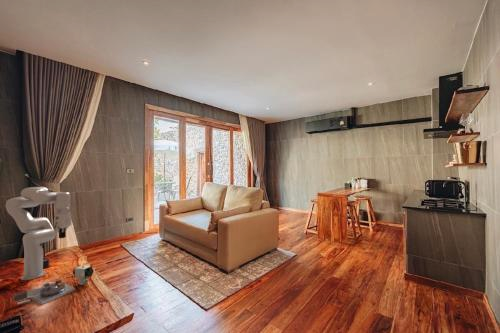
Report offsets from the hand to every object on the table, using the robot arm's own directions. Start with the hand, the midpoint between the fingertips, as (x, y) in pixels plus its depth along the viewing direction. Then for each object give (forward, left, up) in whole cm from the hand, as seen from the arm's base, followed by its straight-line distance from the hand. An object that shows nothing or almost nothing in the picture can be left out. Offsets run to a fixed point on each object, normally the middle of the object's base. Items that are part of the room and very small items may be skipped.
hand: (62, 237), depth 146 cm
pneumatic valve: (+17, +5, -29) cm, 34 cm away
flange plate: (+14, -13, -29) cm, 35 cm away
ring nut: (+13, -15, -27) cm, 34 cm away
